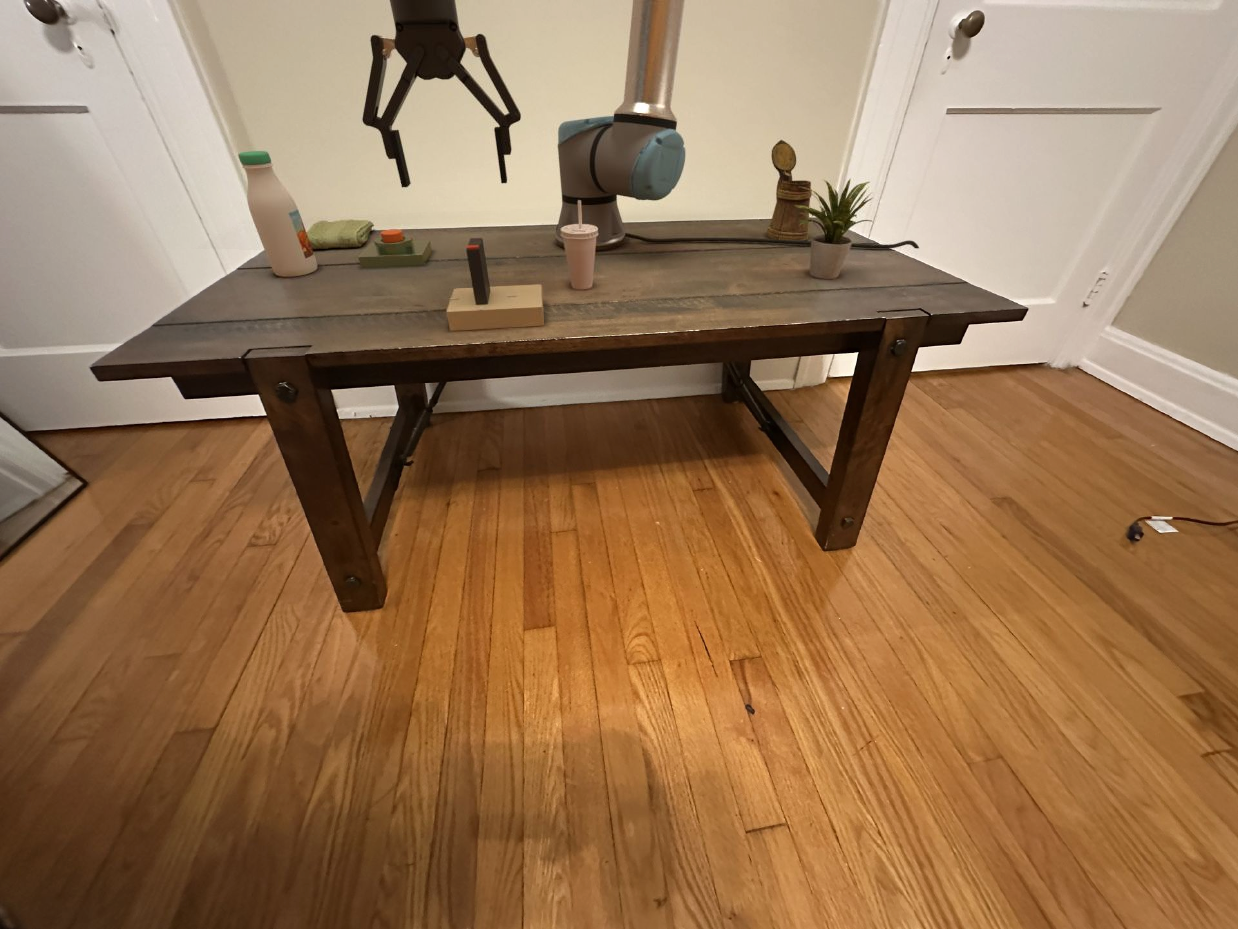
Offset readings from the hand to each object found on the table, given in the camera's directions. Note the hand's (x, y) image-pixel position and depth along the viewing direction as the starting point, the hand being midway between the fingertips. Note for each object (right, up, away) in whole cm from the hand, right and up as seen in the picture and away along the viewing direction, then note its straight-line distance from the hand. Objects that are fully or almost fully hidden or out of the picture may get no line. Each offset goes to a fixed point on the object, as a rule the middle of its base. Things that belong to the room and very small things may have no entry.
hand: (455, 183), depth 75 cm
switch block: (-22, +2, +33) cm, 39 cm away
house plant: (+62, -4, +25) cm, 67 cm away
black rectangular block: (+2, -14, +7) cm, 16 cm away
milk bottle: (-39, -3, +27) cm, 48 cm away
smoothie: (+17, -8, +20) cm, 27 cm away
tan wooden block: (+4, -16, +9) cm, 19 cm away
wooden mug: (+61, +13, +46) cm, 77 cm away
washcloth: (-40, +11, +45) cm, 61 cm away
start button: (-22, +5, +31) cm, 38 cm away
